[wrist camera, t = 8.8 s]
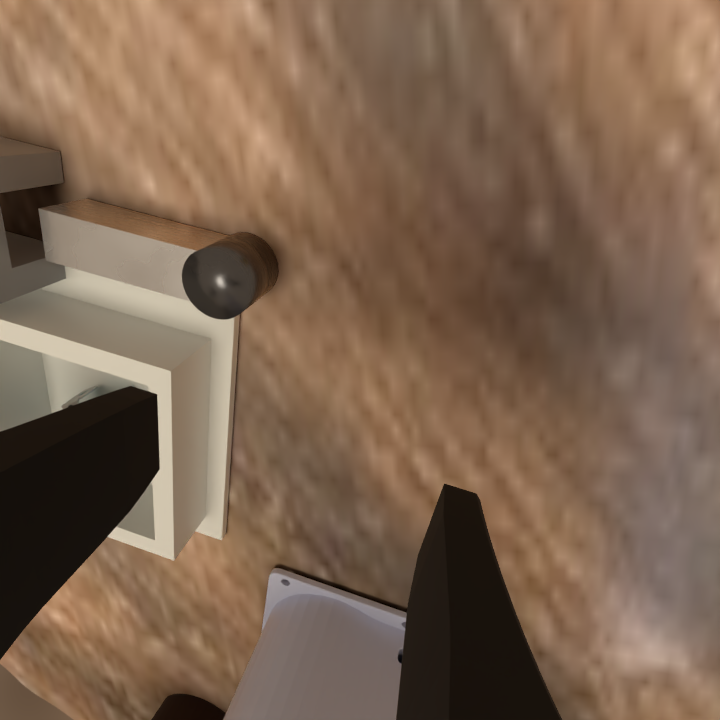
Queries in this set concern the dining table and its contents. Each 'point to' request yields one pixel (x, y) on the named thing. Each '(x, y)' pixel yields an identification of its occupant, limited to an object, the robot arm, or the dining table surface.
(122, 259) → the pin
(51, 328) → the dock
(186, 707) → the coffee mug
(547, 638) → the dining table surface
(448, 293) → the dining table surface
